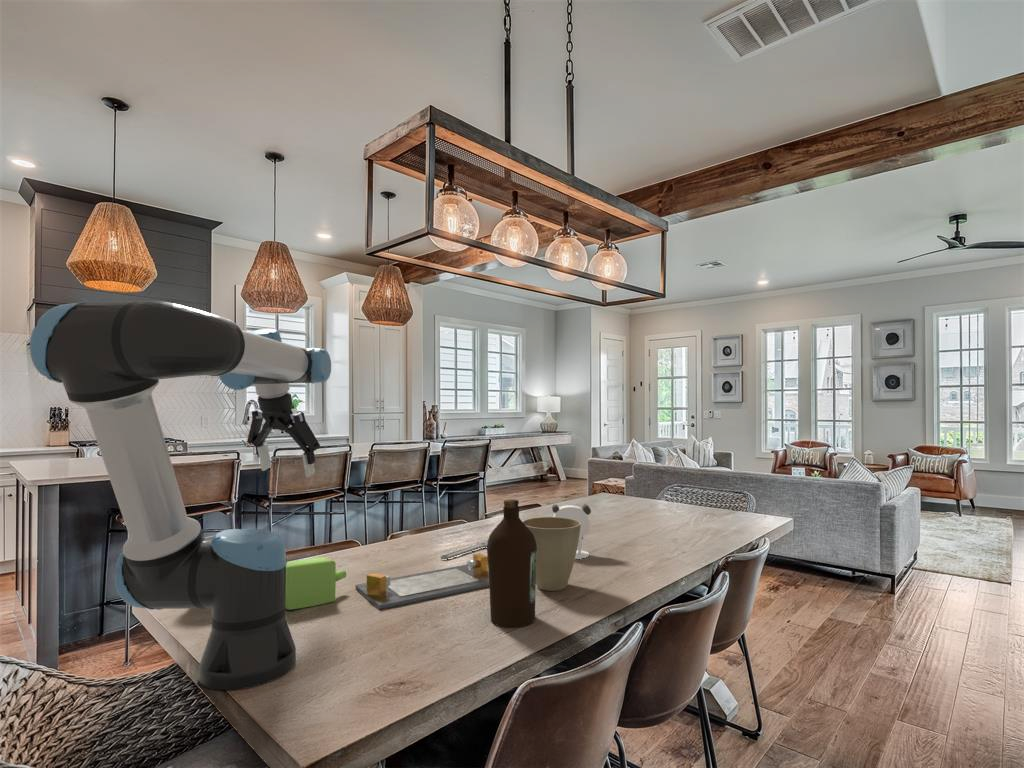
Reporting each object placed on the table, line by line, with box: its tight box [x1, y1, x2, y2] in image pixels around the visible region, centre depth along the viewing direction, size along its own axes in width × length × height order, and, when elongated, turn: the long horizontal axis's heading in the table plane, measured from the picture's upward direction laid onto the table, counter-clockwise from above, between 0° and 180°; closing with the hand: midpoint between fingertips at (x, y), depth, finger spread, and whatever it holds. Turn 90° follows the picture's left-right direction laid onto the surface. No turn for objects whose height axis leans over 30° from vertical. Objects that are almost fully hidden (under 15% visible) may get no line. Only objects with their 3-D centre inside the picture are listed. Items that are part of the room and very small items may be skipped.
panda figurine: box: [551, 504, 592, 560], centre depth 169 cm, size 12×11×15 cm
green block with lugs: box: [285, 556, 347, 611], centre depth 131 cm, size 18×10×10 cm, turn 126°
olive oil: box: [486, 498, 537, 629], centre depth 117 cm, size 11×11×25 cm
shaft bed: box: [355, 552, 489, 610], centre depth 140 cm, size 18×33×6 cm, turn 123°
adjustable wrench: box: [440, 539, 488, 560], centre depth 175 cm, size 25×6×2 cm, turn 138°
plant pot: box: [521, 516, 581, 592], centre depth 139 cm, size 15×15×16 cm
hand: (288, 471), depth 140 cm, fingers open, 13 cm apart
